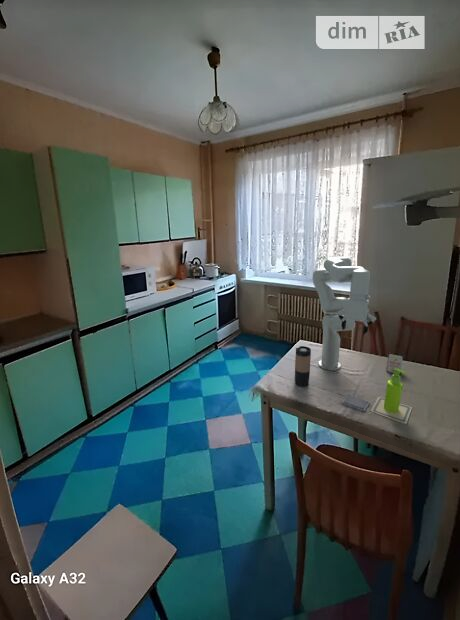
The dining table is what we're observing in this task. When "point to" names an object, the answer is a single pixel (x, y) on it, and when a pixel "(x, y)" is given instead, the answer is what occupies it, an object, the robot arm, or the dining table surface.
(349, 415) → the dining table surface
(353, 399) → the ink pad
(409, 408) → the card sheet
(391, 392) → the soap dispenser
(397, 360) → the white patterned box
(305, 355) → the travel mug
